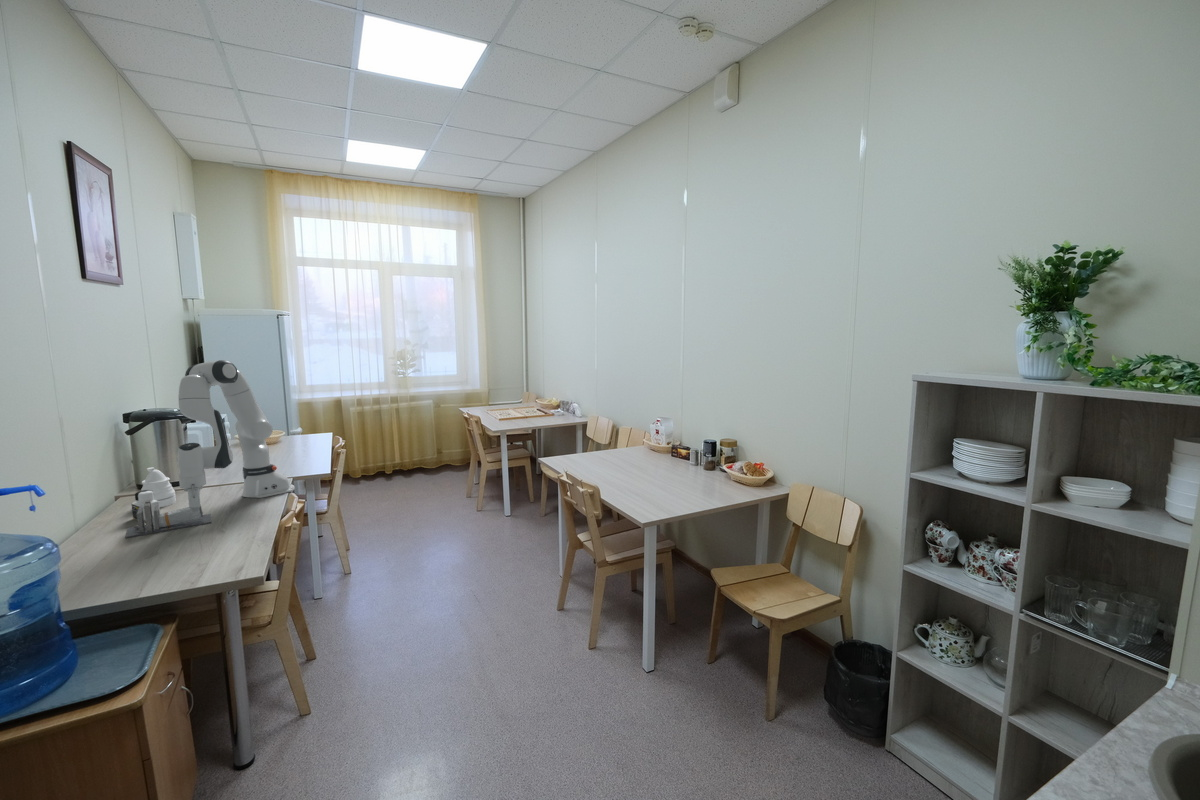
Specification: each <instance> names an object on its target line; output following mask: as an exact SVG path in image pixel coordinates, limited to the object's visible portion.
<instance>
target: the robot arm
mask: <svg viewBox="0 0 1200 800" xmlns="http://www.w3.org/2000/svg"><path fill="white" fill-rule="evenodd" d="M215 386H219V387H220V389H221V392H222V393H223V394H222V395H223V396H224V398H225V400H226V404H227V405H228V408H229V409H230V412H232V414H233V416H234V417H235V418H236V423H235V430H236V432H237V437H238V441H239V445H240V448H241V453H242V462H243V464H242V465H243V467H242V478H243V490H242V494H241V496H242V497H243V498H257V499H263V498H266V497H271V496H276V495H277V496H278V495H281V494H285V493H291V492H293V491H295V490H296V488H295V485H294V484H292V483H290V480H289V477H287V476H286V474H285V475H284V474H282V473H281V472H278V471H277V470H278V467H277V466H276V465H275V464H273V463H271V460H270V449H269V446H268V444H267V441H266V440H267V439H268V438H270V437H271V436H272V434H273V426H272V424H271V423H270V422H269V420H268V418H267V416H266V415H265V413H264V412H263V410H262V408H261V407H260V406H259V404H258V401H257V400H256V398H255V396H254V393H253V391H252V389H251V387H250V383H249V382H248V381H247V379H246V377H245V376H244V374H242V372H241V371H239V370H238V368H237V366H236V365H235V364H234V363H232V362H231V361H229V360H225V359H222V360H221V359H220V360H219V359H218V360H211V361H210V360H209V361H205V362H202V363H196V364H192V365H191V366H189V367H188V368H187V369H186V371H185V374H184V376H183V377H182V378H181V380H180V383H179V387H178V408H179V411H180V413H181V415H183V416H184V417H185V418H188V419H190V420H193V421H197V422H201V423H204V424H207V425H209V426H210V427H211V428H212V430H213V435H214V438H215V443H216V445H214V446H205V447H204V446H203V447H202V445H201V444H200V443H198V442H189V443H188V442H187V443H184V444H181V445H179V447H178V448H177V455H176V456H177V457H176V461H177V468H178V471H179V473H178V482H179V488H180V489H183V491H184V492H187V497H188V498H187V499H188V507H189V508H190V509H192V510H193V515H194V516H195V515H198V514H199V513H198V508H200V504H201V490H202V489H203V488H204V486H205V485H207V478H206V472H205V470H209V469H210V470H211V469H226V468H227V467H228V466H230V465H231V464H232V463H233V459H234V457H233V451H232V449H231V446H230V443H229V439H228V435H227V432H226V427H225V424H224V420H223V417H222V415H221V413H220V411H219V410H217V409H215V408H214V407H213V405H212V401H211V391H210V390H211V387H215Z"/></svg>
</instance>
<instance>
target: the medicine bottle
mask: <svg viewBox="0 0 1200 800" xmlns="http://www.w3.org/2000/svg"><path fill="white" fill-rule="evenodd" d="M134 498H135V499H134V500H135V501H134V502H132V503H131V512H132V518H133V520H136V521H138V519H137V512H138V508H139V507H143V514H144V522H146V520H145V512H144V504H145V500H151V507H152V516H154V506H155V505H158V504H159V501H157V500H154V493H153V491H152V490H143V491H141V490H139V491H137V492H135V493H134ZM159 513H160V514H161V507H159Z"/></svg>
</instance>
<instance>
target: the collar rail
mask: <svg viewBox="0 0 1200 800" xmlns="http://www.w3.org/2000/svg"><path fill="white" fill-rule="evenodd" d="M144 512H145V521H144V514H143V507H139V508H138V512H137V519H138V520H137V525H136V526H130V527H128V528H127V532H126V535H125V539H129V538H136V537H140V536H146V535H152V534H157V533H163V532H164V533H165V532H169V531H175V530H179V529H185V528H191V527H197V526H202V525H207V524H208V525H209V524H212V523H213V522H212V513H208V514H207V513H206V514H203V517H199V518H195V519H191V520H188V521H184V522H180V523H176V524H172V525H168V526H164V527H161V528H160V527H159V518H158V515H159V514H161V512H160V513H159V504H158V505H155V506H154V520H155V529H154V525H153V522H152V507H151V500H145V504H144Z"/></svg>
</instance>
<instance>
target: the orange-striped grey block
mask: <svg viewBox="0 0 1200 800" xmlns="http://www.w3.org/2000/svg"><path fill="white" fill-rule="evenodd" d="M198 513H199V514H198V515H195V516H194V515H193V510H192V509H190V508H189V506H188V507H184V508H179V509H176V510H171V511H168V512H163V513H160V514H159V515H158V518H159V527H160V528H161V527H164V526H168V525H172V524H176V523H180V522H184V521H188V520H191V519H195V518H199V517H203V515H204V512H203V508H202V506H201V503H200V508H198ZM152 522H153V525H154V529H155V520H154V516H152Z"/></svg>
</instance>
